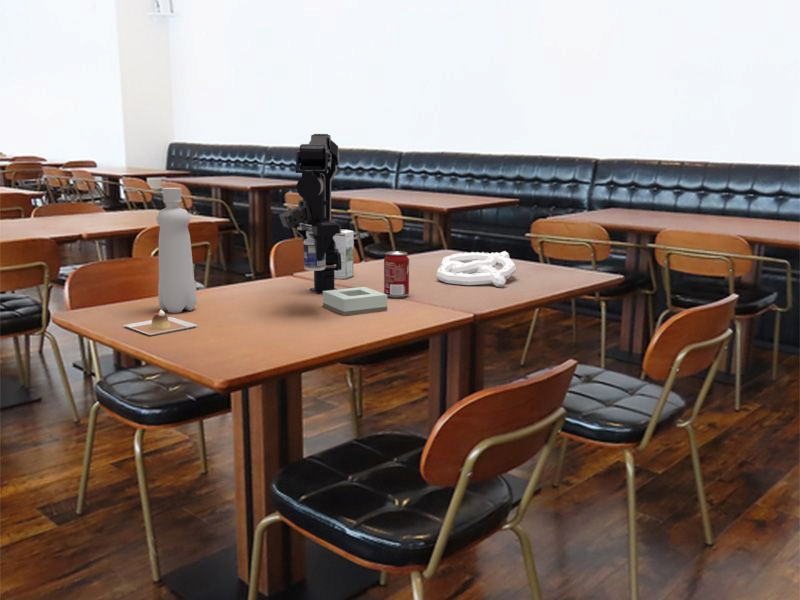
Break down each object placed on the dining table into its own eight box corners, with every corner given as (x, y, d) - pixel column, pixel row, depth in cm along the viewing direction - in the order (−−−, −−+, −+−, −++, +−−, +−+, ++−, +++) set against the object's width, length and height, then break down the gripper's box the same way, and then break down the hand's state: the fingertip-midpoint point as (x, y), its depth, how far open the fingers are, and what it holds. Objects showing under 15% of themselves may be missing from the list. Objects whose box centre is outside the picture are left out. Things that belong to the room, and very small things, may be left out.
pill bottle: (304, 267, 196) (303, 229, 194) (325, 267, 196) (325, 229, 194) (303, 271, 191) (302, 231, 189) (325, 271, 191) (324, 231, 189)
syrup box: (337, 275, 242) (336, 229, 239) (354, 276, 240) (353, 230, 237) (328, 278, 236) (328, 231, 233) (346, 279, 234) (345, 232, 231)
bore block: (323, 306, 197) (322, 291, 196) (364, 301, 203) (364, 286, 202) (344, 315, 187) (344, 299, 186) (387, 310, 193) (387, 294, 192)
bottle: (184, 304, 198) (178, 186, 192) (204, 309, 192) (198, 188, 186) (152, 309, 192) (144, 188, 186) (171, 315, 186) (164, 190, 180)
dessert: (123, 329, 174) (121, 309, 173) (171, 321, 183) (169, 301, 182) (149, 339, 166) (148, 317, 165) (198, 329, 175) (197, 309, 174)
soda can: (406, 299, 206) (406, 254, 204) (381, 298, 208) (381, 254, 205) (410, 294, 213) (411, 251, 210) (386, 293, 214) (387, 250, 212)
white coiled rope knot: (514, 293, 223) (514, 272, 220) (433, 293, 227) (432, 272, 225) (518, 265, 249) (518, 246, 246) (445, 265, 253) (444, 246, 251)
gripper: (269, 194, 194) (271, 256, 197) (297, 200, 178) (298, 267, 181) (310, 193, 199) (311, 253, 202) (341, 198, 183) (342, 263, 186)
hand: (314, 259), depth 193 cm, fingers closed on pill bottle, 5 cm apart
